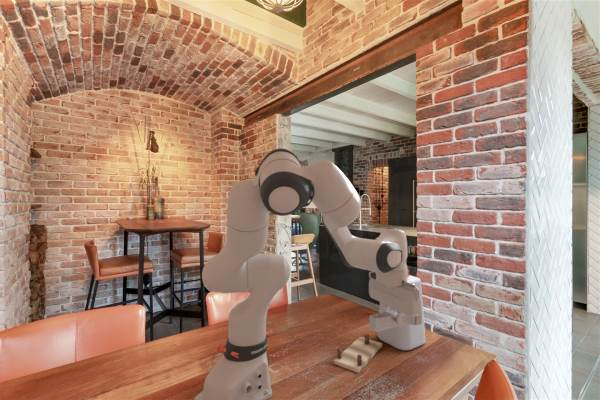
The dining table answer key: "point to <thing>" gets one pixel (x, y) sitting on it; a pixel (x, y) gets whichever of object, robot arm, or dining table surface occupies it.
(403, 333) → the plastic bottle
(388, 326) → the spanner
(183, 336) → the dining table surface
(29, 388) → the dining table surface
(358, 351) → the peg board
